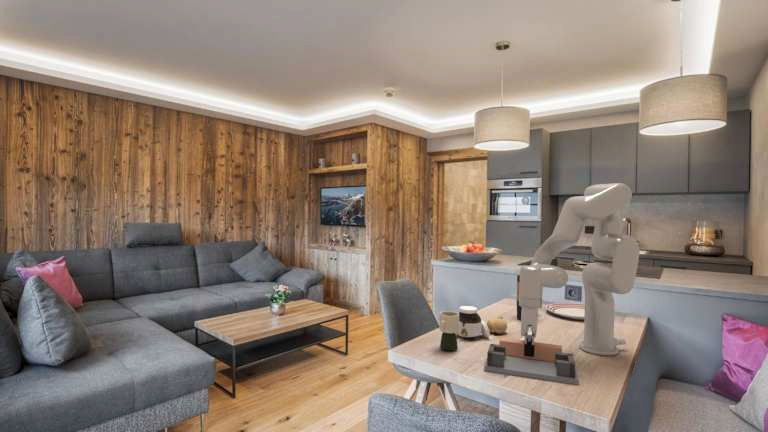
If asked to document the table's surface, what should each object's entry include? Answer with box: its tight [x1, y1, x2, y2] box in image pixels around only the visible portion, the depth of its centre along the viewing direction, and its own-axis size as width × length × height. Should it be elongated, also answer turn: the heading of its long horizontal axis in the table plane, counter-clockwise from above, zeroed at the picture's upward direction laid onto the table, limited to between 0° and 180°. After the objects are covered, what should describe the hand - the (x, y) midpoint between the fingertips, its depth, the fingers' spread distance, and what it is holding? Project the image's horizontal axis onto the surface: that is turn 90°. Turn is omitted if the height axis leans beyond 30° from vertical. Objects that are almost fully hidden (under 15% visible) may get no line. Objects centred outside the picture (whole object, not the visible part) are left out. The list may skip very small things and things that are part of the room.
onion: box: [486, 314, 508, 335], centre depth 163 cm, size 8×8×7 cm
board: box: [483, 356, 580, 386], centre depth 124 cm, size 27×11×2 cm, turn 69°
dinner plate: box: [545, 302, 585, 321], centre depth 192 cm, size 28×27×3 cm
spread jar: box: [456, 305, 491, 341], centre depth 157 cm, size 12×11×12 cm
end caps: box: [486, 343, 576, 378], centre depth 124 cm, size 25×9×4 cm, turn 69°
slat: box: [498, 337, 563, 363], centre depth 136 cm, size 20×4×5 cm, turn 66°
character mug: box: [438, 310, 459, 351], centre depth 143 cm, size 11×7×13 cm, turn 141°
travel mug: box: [516, 274, 522, 321], centre depth 183 cm, size 8×8×20 cm
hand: (529, 351), depth 136 cm, fingers open, 9 cm apart
